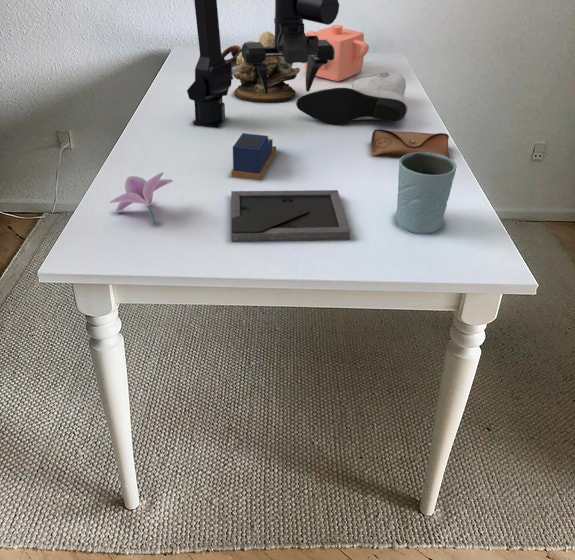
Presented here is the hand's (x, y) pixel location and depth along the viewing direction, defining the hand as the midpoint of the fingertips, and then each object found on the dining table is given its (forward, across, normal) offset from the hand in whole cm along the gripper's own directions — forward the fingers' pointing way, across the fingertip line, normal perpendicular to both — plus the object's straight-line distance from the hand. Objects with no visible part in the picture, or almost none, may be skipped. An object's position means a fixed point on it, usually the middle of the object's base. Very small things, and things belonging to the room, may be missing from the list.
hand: (286, 92), depth 134 cm
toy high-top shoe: (+13, -8, -6) cm, 17 cm away
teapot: (+14, +26, +51) cm, 59 cm away
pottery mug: (+14, 0, +61) cm, 63 cm away
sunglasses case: (+14, +28, -6) cm, 32 cm away
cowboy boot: (+14, +24, +22) cm, 36 cm away
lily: (+14, -33, -24) cm, 43 cm away
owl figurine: (+14, +4, +37) cm, 40 cm away
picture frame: (+14, -7, -30) cm, 34 cm away
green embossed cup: (+14, +17, -36) cm, 42 cm away
